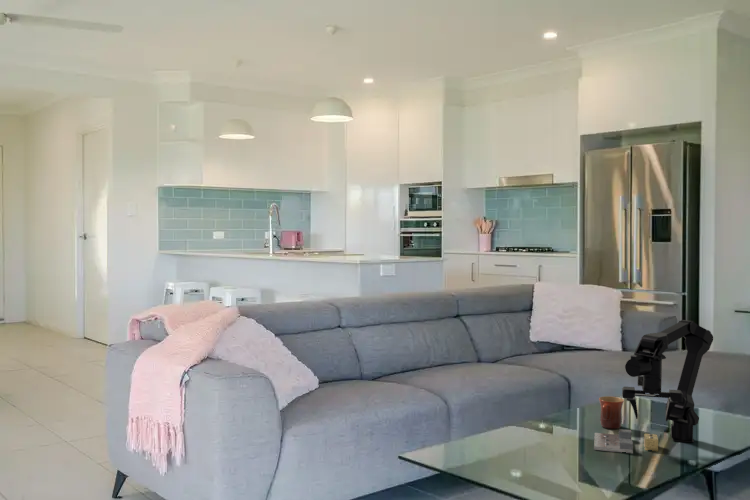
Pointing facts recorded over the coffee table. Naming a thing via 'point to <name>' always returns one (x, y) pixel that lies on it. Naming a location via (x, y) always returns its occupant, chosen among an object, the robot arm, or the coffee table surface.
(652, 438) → the block
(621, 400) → the mug
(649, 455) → the coffee table surface
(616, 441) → the steel hinge plate
